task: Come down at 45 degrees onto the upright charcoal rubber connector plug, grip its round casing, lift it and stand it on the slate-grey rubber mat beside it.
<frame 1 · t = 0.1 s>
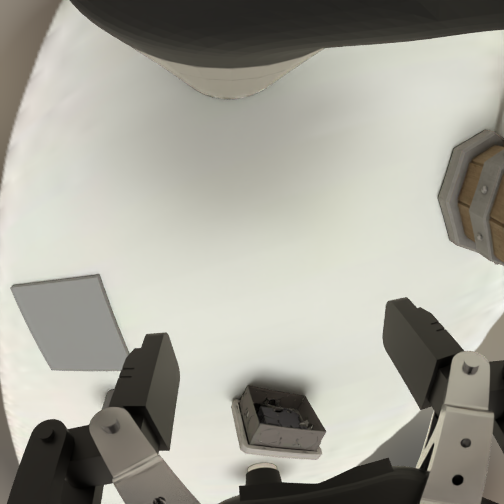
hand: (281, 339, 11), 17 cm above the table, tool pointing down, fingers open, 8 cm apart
mat: (71, 328, 31), on the table
tankard: (491, 160, 27), on the table
electrical switch: (271, 394, 37), on the table
dixie cup: (262, 468, 45), on the table
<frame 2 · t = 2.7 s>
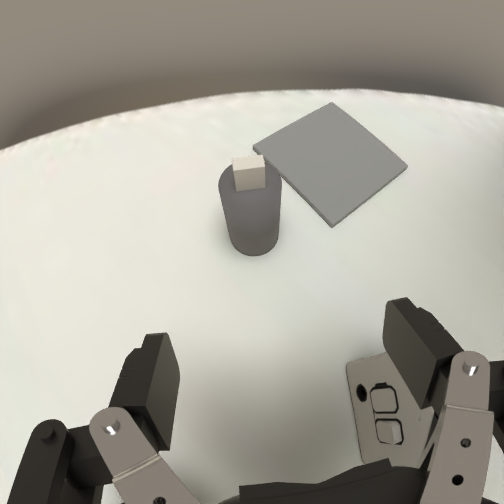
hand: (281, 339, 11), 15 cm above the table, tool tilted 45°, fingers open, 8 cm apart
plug: (254, 233, 30), on the table
mat: (332, 157, 33), on the table
electrical switch: (382, 404, 24), on the table
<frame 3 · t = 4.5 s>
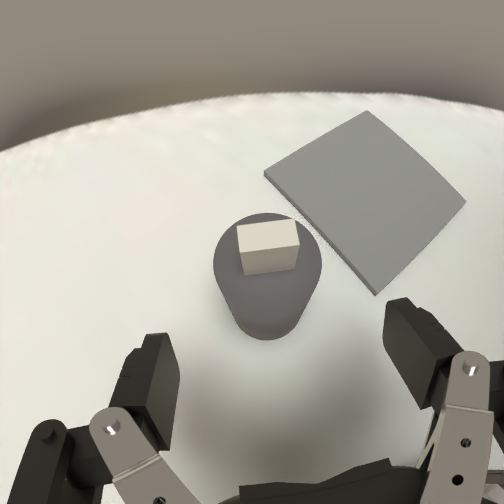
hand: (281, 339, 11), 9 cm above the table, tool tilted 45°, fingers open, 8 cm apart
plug: (267, 306, 21), on the table
mat: (373, 188, 24), on the table
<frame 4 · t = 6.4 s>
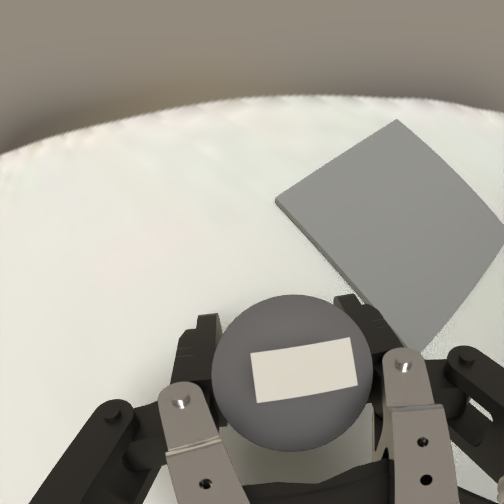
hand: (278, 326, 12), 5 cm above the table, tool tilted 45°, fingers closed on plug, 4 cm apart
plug: (280, 377, 16), on the table, touching gripper
mat: (408, 219, 19), on the table
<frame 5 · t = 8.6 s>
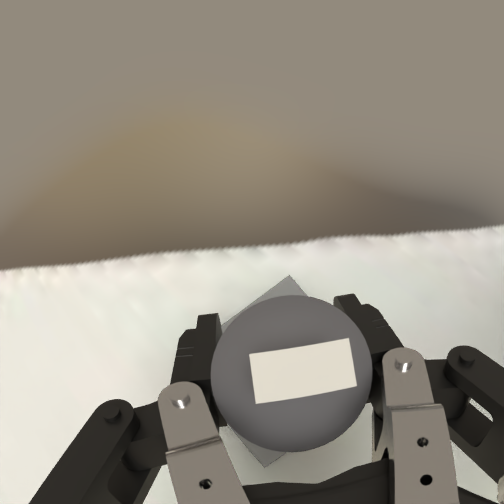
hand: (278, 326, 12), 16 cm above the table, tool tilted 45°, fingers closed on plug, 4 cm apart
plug: (280, 377, 16), point 11 cm above the table, touching gripper
mat: (278, 371, 26), on the table
when the fingers open (6 cm above the table, at t = 11.0 s): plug drops 1 cm, resting on mat.
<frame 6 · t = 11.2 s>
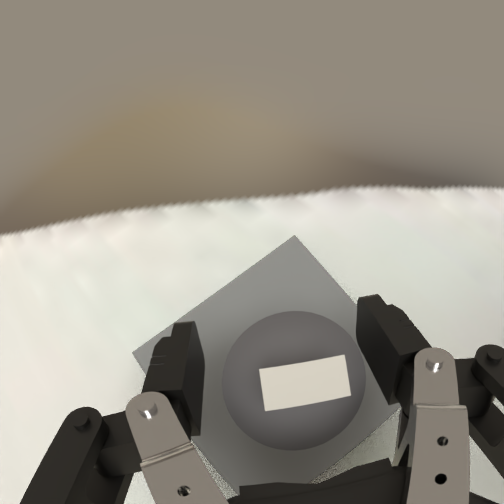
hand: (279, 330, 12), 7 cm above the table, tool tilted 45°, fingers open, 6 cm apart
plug: (281, 379, 17), point 1 cm above the table, touching mat
mat: (278, 377, 17), on the table
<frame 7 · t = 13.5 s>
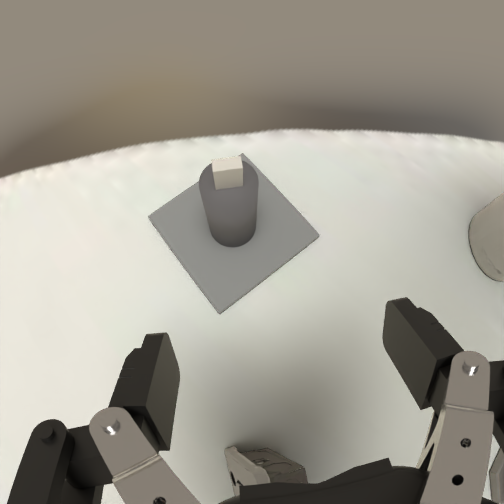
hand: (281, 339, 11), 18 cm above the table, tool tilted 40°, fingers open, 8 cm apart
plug: (232, 225, 31), point 1 cm above the table, touching mat
mat: (231, 227, 32), on the table
electrical switch: (262, 481, 24), on the table
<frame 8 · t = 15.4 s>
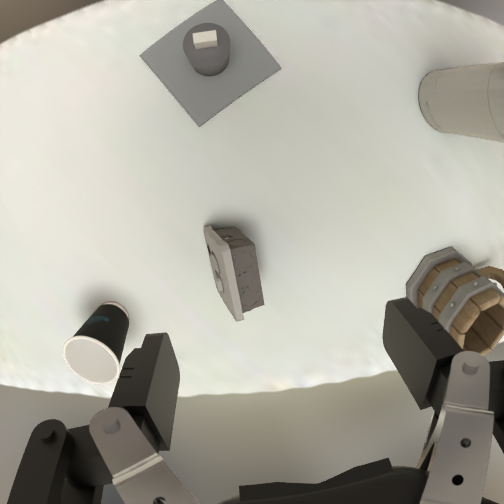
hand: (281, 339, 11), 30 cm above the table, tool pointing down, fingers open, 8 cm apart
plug: (210, 59, 32), point 1 cm above the table, touching mat
mat: (209, 59, 33), on the table
tankard: (454, 277, 47), on the table
electrical switch: (230, 252, 43), on the table
dixie cup: (114, 314, 45), on the table
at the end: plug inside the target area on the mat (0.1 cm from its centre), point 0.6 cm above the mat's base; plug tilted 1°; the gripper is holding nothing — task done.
